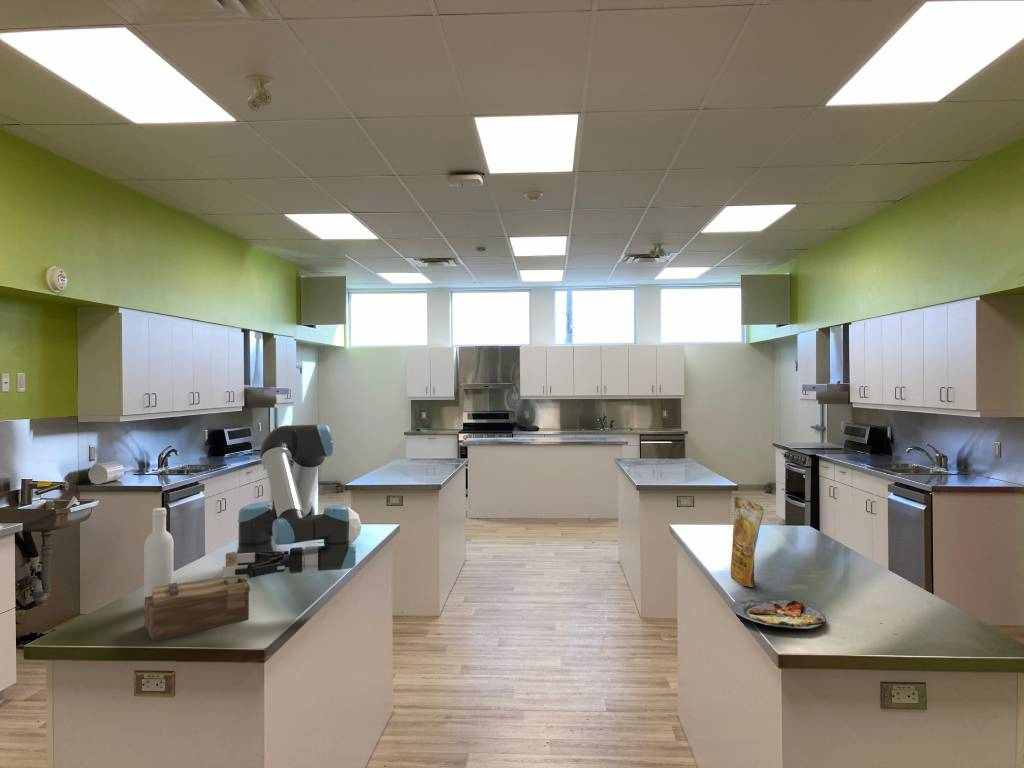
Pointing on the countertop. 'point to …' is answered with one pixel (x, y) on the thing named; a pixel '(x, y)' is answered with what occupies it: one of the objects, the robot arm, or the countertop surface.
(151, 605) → the toolbox
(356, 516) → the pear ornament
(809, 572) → the countertop surface
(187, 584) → the toolbox lid
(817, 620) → the food plate
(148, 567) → the bottle
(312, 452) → the robot arm
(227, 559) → the pin
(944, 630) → the countertop surface
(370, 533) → the countertop surface
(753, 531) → the pancake mix bag
